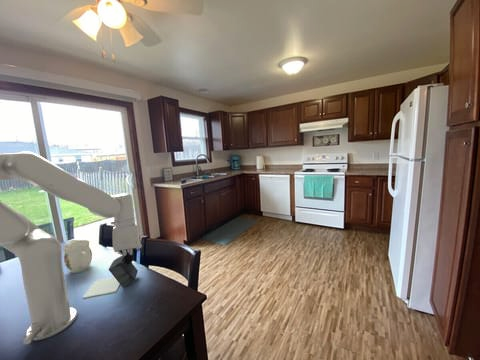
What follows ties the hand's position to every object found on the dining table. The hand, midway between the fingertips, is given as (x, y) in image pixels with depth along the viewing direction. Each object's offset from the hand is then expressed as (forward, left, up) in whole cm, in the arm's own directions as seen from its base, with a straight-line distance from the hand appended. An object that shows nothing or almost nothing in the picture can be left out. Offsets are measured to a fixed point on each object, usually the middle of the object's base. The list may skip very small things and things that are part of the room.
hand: (129, 262), depth 90 cm
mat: (0, +11, -9) cm, 14 cm away
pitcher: (+20, +28, -9) cm, 36 cm away
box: (0, 0, -8) cm, 8 cm away
